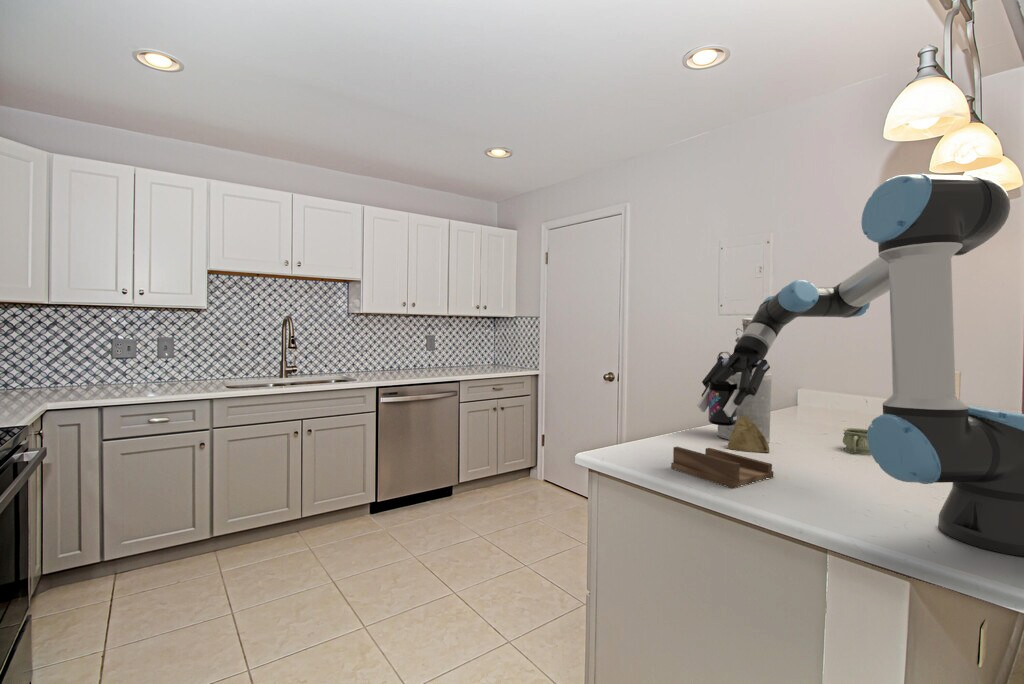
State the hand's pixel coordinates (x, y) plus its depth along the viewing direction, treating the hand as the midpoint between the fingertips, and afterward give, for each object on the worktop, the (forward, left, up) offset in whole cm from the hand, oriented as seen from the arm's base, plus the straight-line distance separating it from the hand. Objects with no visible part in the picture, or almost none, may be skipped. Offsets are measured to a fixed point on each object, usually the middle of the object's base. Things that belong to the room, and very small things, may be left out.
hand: (713, 410), depth 124 cm
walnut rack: (+3, -2, -16) cm, 17 cm away
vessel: (+46, -36, -16) cm, 61 cm away
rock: (+31, -7, -16) cm, 36 cm away
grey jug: (+46, -4, -16) cm, 49 cm away
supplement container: (+3, -2, -4) cm, 5 cm away
